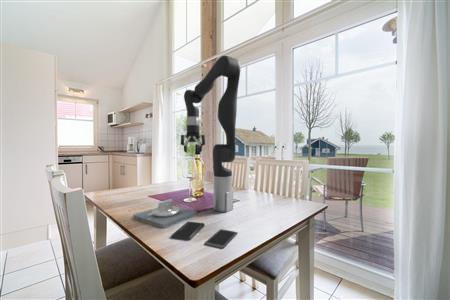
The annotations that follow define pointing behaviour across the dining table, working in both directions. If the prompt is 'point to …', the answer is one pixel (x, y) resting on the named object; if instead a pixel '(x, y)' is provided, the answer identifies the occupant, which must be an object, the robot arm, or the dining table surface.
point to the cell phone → (221, 239)
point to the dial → (165, 209)
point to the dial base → (164, 221)
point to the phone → (188, 231)
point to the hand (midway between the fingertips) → (192, 152)
